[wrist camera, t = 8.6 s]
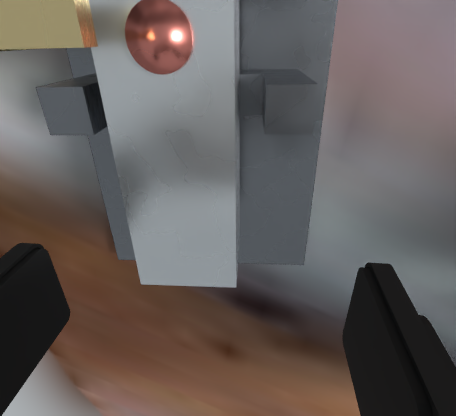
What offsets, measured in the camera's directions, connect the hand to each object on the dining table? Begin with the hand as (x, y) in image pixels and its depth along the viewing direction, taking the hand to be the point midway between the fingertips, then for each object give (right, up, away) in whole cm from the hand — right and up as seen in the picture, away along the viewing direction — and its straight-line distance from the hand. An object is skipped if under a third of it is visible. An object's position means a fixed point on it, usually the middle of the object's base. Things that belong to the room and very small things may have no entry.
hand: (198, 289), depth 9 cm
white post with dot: (-1, +7, +3) cm, 8 cm away
